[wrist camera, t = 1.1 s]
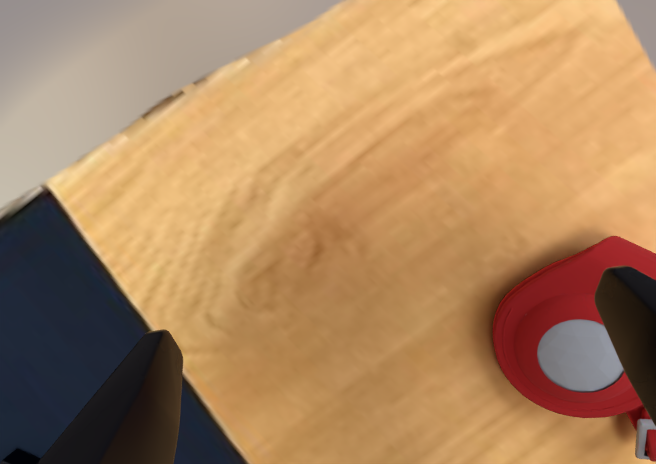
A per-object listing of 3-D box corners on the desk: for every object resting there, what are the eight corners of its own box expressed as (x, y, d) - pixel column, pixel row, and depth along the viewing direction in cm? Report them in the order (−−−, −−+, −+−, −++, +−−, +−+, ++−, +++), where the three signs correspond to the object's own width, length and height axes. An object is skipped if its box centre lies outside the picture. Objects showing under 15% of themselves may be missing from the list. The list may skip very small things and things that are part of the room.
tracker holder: (460, 381, 23) (561, 217, 20) (464, 344, 28) (549, 202, 24) (698, 514, 21) (860, 351, 18) (664, 451, 25) (790, 309, 22)
